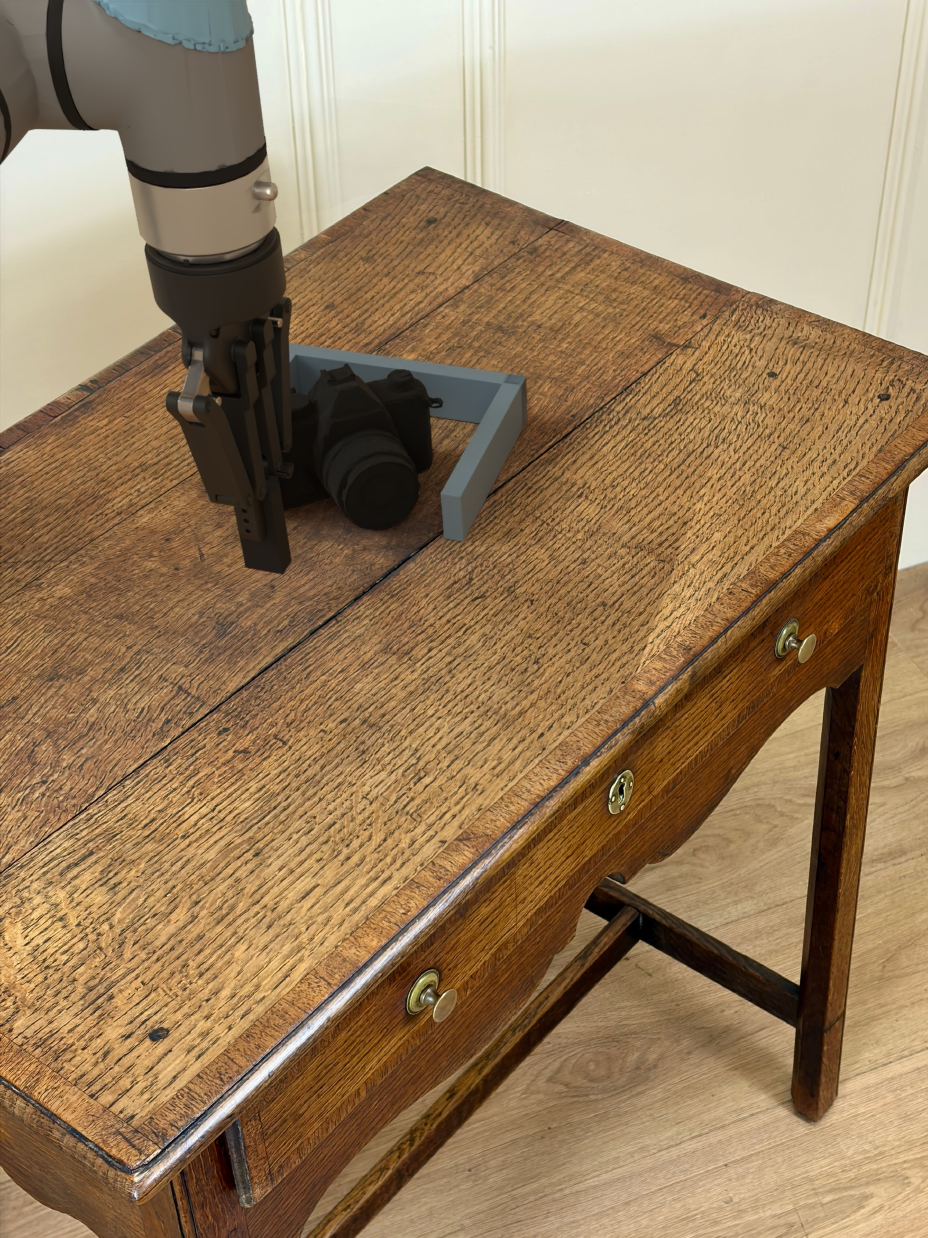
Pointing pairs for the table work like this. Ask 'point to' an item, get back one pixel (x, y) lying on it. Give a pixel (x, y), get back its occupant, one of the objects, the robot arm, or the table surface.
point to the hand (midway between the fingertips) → (268, 564)
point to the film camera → (360, 445)
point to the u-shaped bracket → (464, 399)
